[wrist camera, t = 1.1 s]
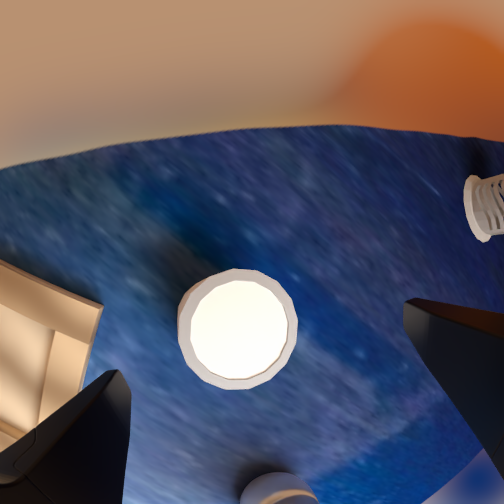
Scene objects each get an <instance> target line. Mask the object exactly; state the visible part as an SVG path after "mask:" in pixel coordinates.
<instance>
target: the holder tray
mask: <svg viewBox="0 0 504 504" xmlns="http://www.w3.org/2000/svg"><path fill="white" fill-rule="evenodd" d="M103 308H104V306H103V305H101V304H98V303H96V302H93V301H91V300H88V299H86V298H84V297H81V296H79V295H76V294H74V293H72V292H69V291H67V290H65V289H62V288H60V287H58V286H56V285H53V284H51V283H49V282H47V281H44V280H42V279H40V278H38V277H36V276H34V275H32V274H29V273H27V272H25V271H23V270H21V269H19V268H17V267H15V266H13V265H11V264H9V263H7V262H5V261H3V260H1V259H0V452H1V451H3V450H4V449H6V448H7V447H9V446H10V445H12V444H13V443H15V442H16V441H17V440H19V439H20V438H21V437H23V436H24V435H25V434H27V433H28V432H29V431H31V430H32V429H33V428H36V426H37V425H38V424H40V423H41V422H42V421H43V420H45V419H46V418H47V417H49V416H50V415H51V414H52V413H54V412H55V411H56V410H57V409H59V408H60V407H61V406H63V405H64V404H65V403H66V402H68V401H69V400H70V399H71V398H73V397H74V396H75V395H77V394H78V393H79V392H80V391H82V387H83V382H84V378H85V374H86V370H87V365H88V361H89V357H90V354H91V350H92V346H93V342H94V339H95V335H96V331H97V328H98V325H99V321H100V318H101V314H102V311H103Z"/></svg>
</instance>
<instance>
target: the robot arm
mask: <svg viewBox="0 0 504 504" xmlns="http://www.w3.org/2000/svg"><path fill="white" fill-rule="evenodd" d="M403 326H404V330H405V332H406V333H407V335H408V337H409V338H410V340H411V342H412V343H413V345H414V347H415V348H416V350H417V352H418V354H419V355H420V357H421V359H422V360H423V362H424V364H425V365H426V366H427V368H428V369H429V371H430V372H431V373H432V375H433V376H434V377H435V379H436V380H437V381H438V383H439V384H440V386H441V387H442V388H443V390H444V391H445V392H446V394H447V395H448V397H449V398H450V399H451V401H452V402H453V404H454V405H455V406H456V408H457V409H458V411H459V412H460V414H461V415H462V416H463V418H464V419H465V421H466V422H467V424H468V425H469V427H470V428H471V430H472V431H473V433H474V434H475V436H476V437H477V439H478V440H479V442H480V443H481V445H482V446H483V448H484V449H485V451H486V452H487V454H488V455H489V457H490V458H491V460H492V462H493V464H494V465H495V467H496V468H497V470H498V472H499V473H500V475H501V476H502V478H503V479H504V314H503V313H497V312H492V311H486V310H480V309H475V308H469V307H464V306H458V305H453V304H448V303H442V302H437V301H431V300H426V299H421V298H413V299H410V300H407V301H405V303H404V306H403ZM130 420H131V391H130V388H129V386H128V384H127V383H126V381H125V379H124V377H123V375H122V373H121V372H120V371H119V370H118V369H116V370H108V371H106V372H104V373H103V374H102V375H101V376H99V377H98V378H97V379H96V380H94V381H93V382H92V383H91V384H89V385H88V386H87V387H85V388H84V389H83V390H82V391H80V392H79V393H78V394H77V395H75V396H74V397H73V398H71V399H70V400H69V401H68V402H66V403H65V404H64V405H63V406H61V407H60V408H59V409H57V410H56V411H55V412H54V413H52V414H51V415H50V416H49V417H47V418H46V419H45V420H43V421H42V422H41V423H40V424H38V425H37V426H36V428H33V429H32V430H31V431H29V432H28V433H27V434H25V435H24V436H23V437H21V438H20V439H19V440H17V441H16V442H15V443H13V444H12V445H10V446H9V447H7V448H6V449H4V450H3V451H1V452H0V504H122V497H123V487H124V478H125V469H126V461H127V454H128V446H129V438H130Z"/></svg>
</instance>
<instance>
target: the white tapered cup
mask: <svg viewBox="0 0 504 504" xmlns="http://www.w3.org/2000/svg"><path fill="white" fill-rule="evenodd" d="M297 324H298V320H297V316H296V313H295V310H294V306H293V303H292V299H291V298H290V297H289V295H288V294H287V293H286V292H285V290H284V289H283V288H282V287H281V285H280V284H279V283H278V282H277V281H275V280H274V279H272V278H270V277H268V276H266V275H264V274H262V273H261V272H259V271H256V270H244V269H231V270H228V271H225V272H222V273H219V274H216V275H212V276H210V277H208V278H206V279H204V280H202V281H200V282H198V283H196V284H195V285H194V286H193V287H191V288H190V289H189V290H188V291H187V292H186V293H185V294H184V296H183V298H182V300H181V302H180V304H179V306H178V318H177V326H178V342H179V345H180V347H181V350H182V353H183V355H184V358H185V360H186V363H187V365H188V366H189V367H190V368H191V369H192V370H193V371H194V372H195V373H196V374H197V375H198V376H199V377H200V378H201V379H202V380H203V381H205V382H207V383H210V384H212V385H215V386H218V387H220V388H223V389H225V390H228V389H250V388H252V387H254V386H257V385H259V384H261V383H264V382H266V381H268V380H270V379H271V378H272V377H273V376H274V375H275V374H276V373H277V372H278V371H279V370H280V369H281V368H282V367H283V366H284V365H285V364H286V363H287V361H288V359H289V357H290V355H291V353H292V350H293V348H294V346H295V344H296V336H297Z"/></svg>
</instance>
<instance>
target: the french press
mask: <svg viewBox="0 0 504 504" xmlns="http://www.w3.org/2000/svg"><path fill="white" fill-rule="evenodd" d="M502 180H503V181H502ZM498 183H500V184H501V187H502V189H501V188H500V187H499V186H498ZM491 184H493V185H494V186H493V188H492V187H491ZM499 192H500V193H501V194H502V195H503V197H504V174H501V175H498V176H494V177H490V178H487V179H483V180H481V179H480V178H479V177H477V176H474V175H470V176H469V178H468V179H467V180H466V183H465V187H464V206H465V211H466V217H467V219H468V222H469V225H470V228H471V230H472V232H473V233H474V235H475V236H476V238H477V239H479V240H480V241H482V242H485V241H488V240H489V239H490V237H491V236H492V235H497V234H504V220H503V217H504V202H503V200H502V198H501V197H500V195H499Z"/></svg>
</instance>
